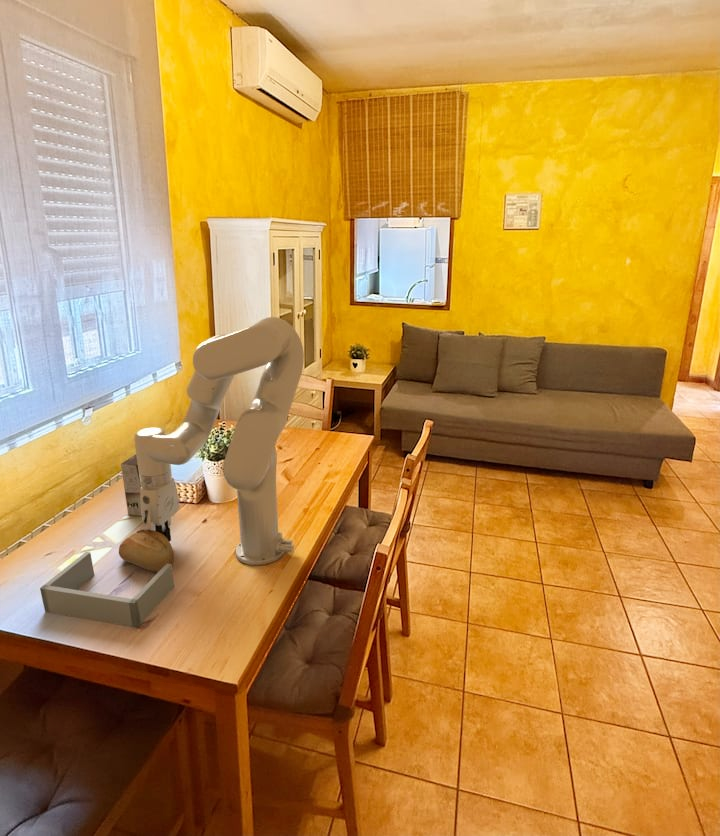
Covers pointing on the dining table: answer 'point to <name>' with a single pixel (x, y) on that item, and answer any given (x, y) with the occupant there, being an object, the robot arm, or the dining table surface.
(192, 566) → the dining table surface
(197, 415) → the robot arm
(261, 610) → the dining table surface
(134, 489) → the coffee box
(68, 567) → the box
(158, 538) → the bread roll
